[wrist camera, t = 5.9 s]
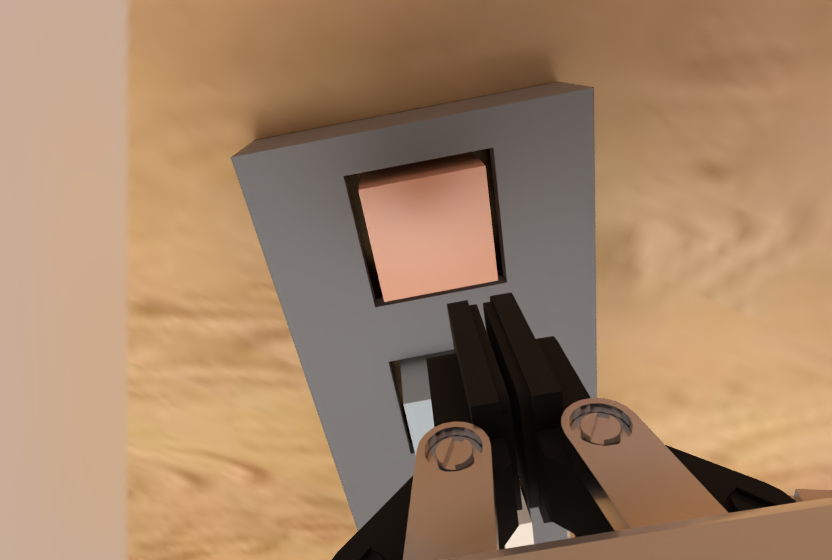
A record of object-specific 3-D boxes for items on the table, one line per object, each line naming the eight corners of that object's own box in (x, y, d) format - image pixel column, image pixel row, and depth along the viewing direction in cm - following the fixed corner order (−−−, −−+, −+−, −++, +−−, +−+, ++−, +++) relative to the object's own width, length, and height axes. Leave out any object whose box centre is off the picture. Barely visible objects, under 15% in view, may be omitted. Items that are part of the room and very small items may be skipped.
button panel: (557, 81, 22) (593, 87, 18) (574, 493, 33) (598, 547, 30) (255, 140, 22) (230, 157, 18) (377, 530, 34) (377, 588, 30)
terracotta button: (466, 145, 22) (485, 165, 18) (478, 243, 25) (498, 280, 21) (361, 165, 22) (358, 190, 19) (382, 261, 25) (384, 302, 21)
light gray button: (495, 329, 25) (517, 382, 21) (504, 404, 27) (526, 466, 23) (399, 347, 25) (403, 404, 21) (415, 421, 27) (422, 485, 23)
